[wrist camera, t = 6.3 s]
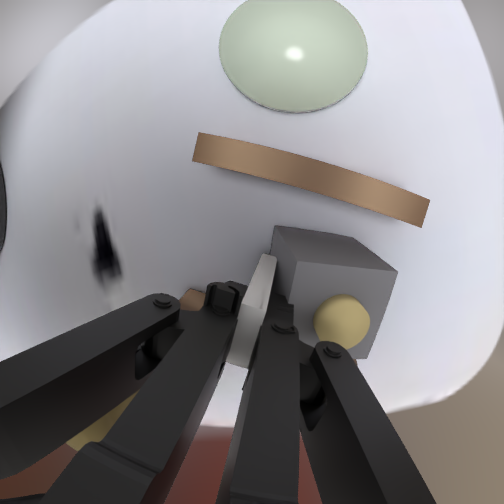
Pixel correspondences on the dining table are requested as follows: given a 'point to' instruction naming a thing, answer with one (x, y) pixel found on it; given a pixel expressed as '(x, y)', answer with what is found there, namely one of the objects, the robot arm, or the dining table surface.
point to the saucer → (293, 53)
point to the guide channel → (305, 183)
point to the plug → (332, 287)
